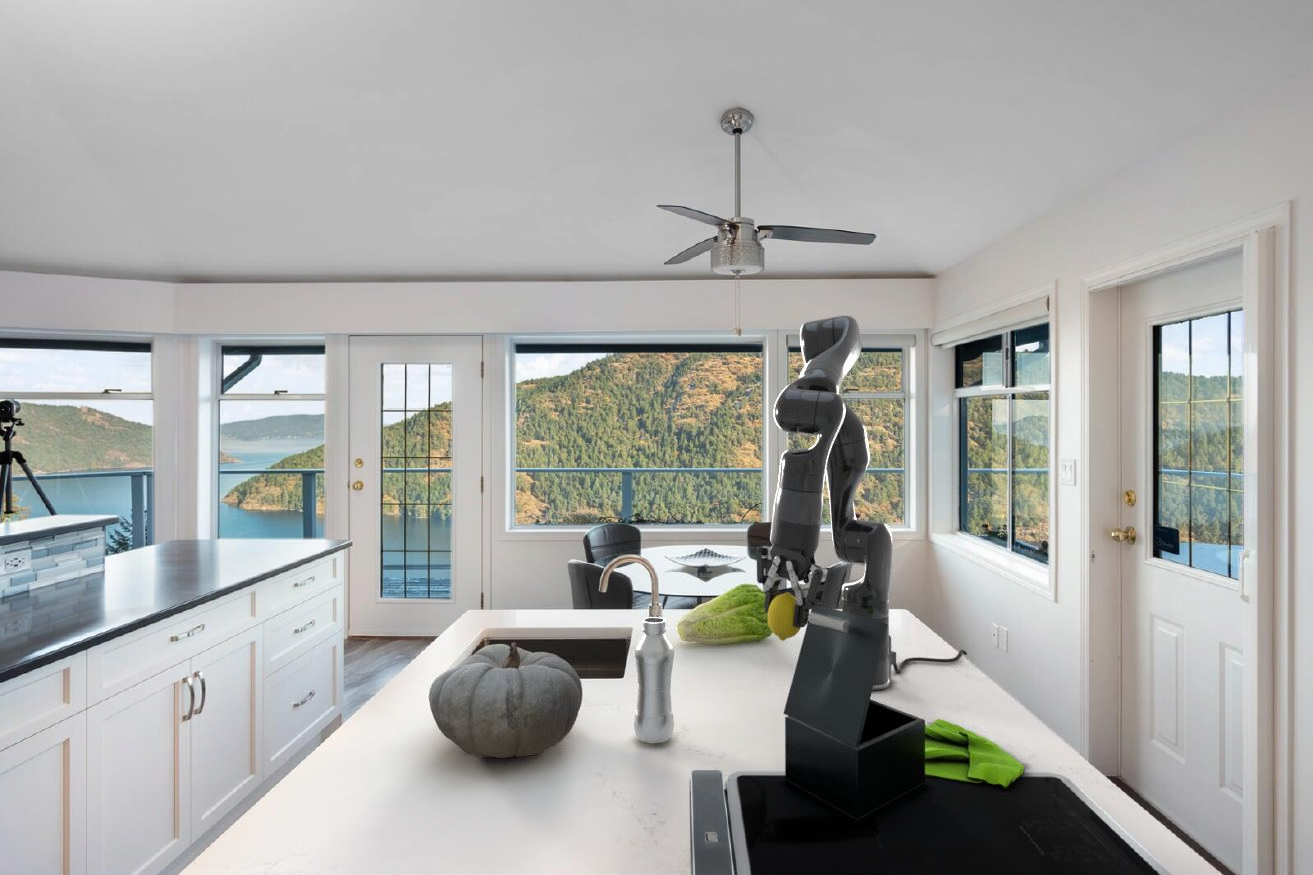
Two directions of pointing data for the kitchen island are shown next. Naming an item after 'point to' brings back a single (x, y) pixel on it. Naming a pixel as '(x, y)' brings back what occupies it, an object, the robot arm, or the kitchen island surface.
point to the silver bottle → (654, 683)
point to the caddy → (858, 763)
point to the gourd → (506, 701)
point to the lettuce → (728, 618)
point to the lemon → (782, 616)
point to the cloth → (967, 756)
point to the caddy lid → (836, 672)
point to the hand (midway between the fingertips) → (784, 619)
